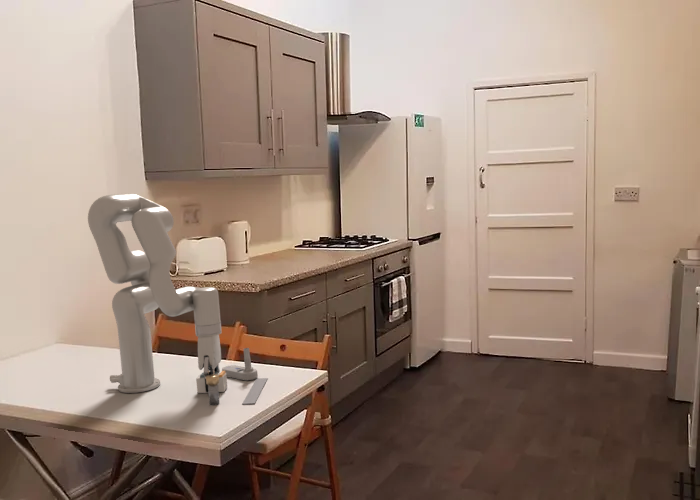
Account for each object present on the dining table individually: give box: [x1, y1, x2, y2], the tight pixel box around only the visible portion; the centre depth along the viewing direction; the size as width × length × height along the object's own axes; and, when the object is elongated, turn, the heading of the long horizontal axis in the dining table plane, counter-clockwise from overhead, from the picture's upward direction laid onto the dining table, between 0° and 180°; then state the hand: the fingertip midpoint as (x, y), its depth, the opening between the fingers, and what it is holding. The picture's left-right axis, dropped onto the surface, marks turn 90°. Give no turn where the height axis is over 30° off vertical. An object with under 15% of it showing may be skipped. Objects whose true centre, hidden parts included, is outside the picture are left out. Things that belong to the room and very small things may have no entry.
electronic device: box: [221, 347, 259, 381], centre depth 222 cm, size 5×10×15 cm
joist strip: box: [241, 377, 268, 406], centre depth 205 cm, size 4×24×1 cm, turn 178°
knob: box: [206, 374, 221, 406], centre depth 195 cm, size 4×4×8 cm
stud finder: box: [195, 370, 228, 394], centre depth 208 cm, size 8×4×5 cm, turn 88°
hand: (213, 388), depth 208 cm, fingers closed on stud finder, 4 cm apart
